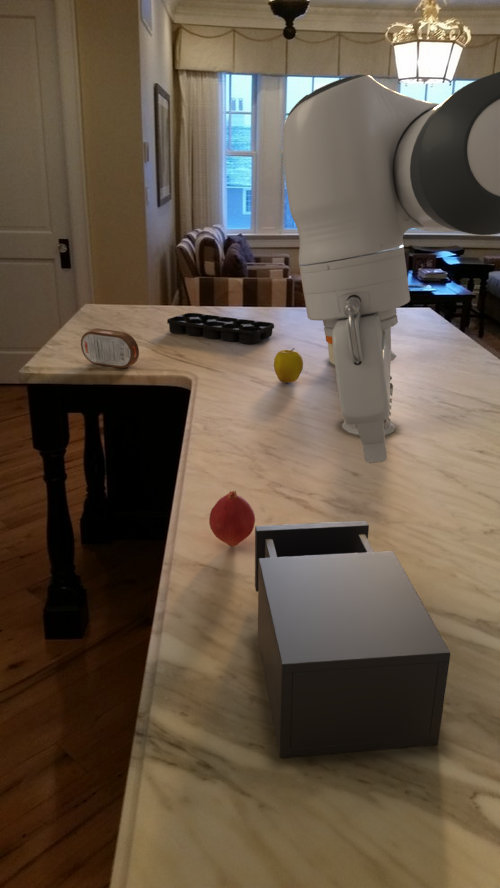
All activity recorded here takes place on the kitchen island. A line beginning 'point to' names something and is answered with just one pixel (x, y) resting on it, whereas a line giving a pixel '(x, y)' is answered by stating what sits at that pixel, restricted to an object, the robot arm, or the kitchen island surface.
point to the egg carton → (221, 327)
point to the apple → (288, 365)
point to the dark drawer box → (348, 654)
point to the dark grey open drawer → (310, 540)
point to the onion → (232, 519)
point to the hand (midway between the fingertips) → (377, 442)
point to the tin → (109, 348)
